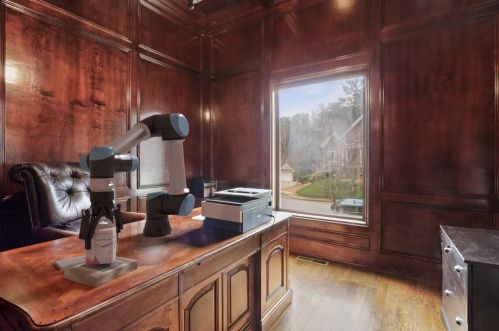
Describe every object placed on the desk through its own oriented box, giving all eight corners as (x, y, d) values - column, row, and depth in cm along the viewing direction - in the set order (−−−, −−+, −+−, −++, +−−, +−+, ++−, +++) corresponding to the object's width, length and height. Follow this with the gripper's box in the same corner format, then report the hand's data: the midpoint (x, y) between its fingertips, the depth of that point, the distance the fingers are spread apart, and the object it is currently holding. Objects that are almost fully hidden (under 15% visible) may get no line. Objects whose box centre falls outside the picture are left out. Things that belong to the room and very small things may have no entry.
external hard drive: (54, 265, 102) (90, 256, 111) (60, 271, 96) (97, 261, 106) (54, 261, 102) (90, 252, 111) (60, 266, 96) (97, 257, 106)
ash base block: (106, 262, 104) (106, 254, 104) (137, 268, 98) (137, 260, 98) (64, 278, 89) (64, 269, 89) (97, 287, 83) (97, 277, 83)
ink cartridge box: (85, 265, 90) (85, 222, 90) (90, 260, 95) (90, 219, 94) (113, 263, 92) (113, 220, 92) (116, 258, 97) (116, 218, 97)
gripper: (79, 194, 82) (80, 266, 82) (133, 187, 101) (134, 246, 102) (64, 192, 85) (64, 263, 85) (119, 187, 104) (120, 244, 105)
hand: (102, 254), depth 93 cm, fingers closed on ink cartridge box, 8 cm apart
